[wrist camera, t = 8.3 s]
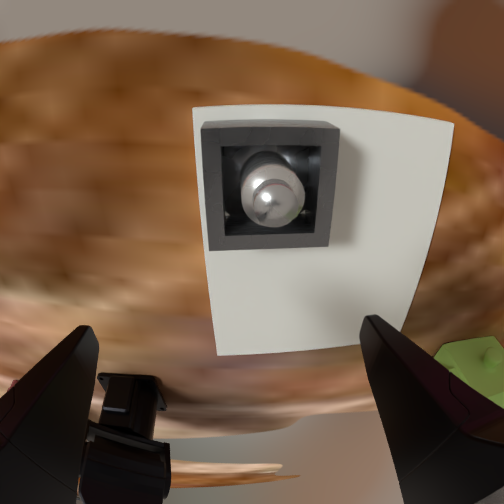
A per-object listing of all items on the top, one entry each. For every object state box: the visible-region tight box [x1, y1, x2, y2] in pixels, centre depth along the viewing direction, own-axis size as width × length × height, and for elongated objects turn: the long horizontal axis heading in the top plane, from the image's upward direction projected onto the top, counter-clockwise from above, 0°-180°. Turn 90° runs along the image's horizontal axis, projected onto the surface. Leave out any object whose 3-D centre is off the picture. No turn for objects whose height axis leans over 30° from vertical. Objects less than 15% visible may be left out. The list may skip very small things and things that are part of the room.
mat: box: [192, 104, 454, 356], centre depth 22 cm, size 20×17×1 cm
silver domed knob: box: [222, 145, 309, 227], centre depth 16 cm, size 6×6×5 cm
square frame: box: [200, 119, 340, 251], centre depth 17 cm, size 7×7×2 cm
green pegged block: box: [434, 336, 504, 408], centre depth 28 cm, size 18×10×10 cm, turn 83°
